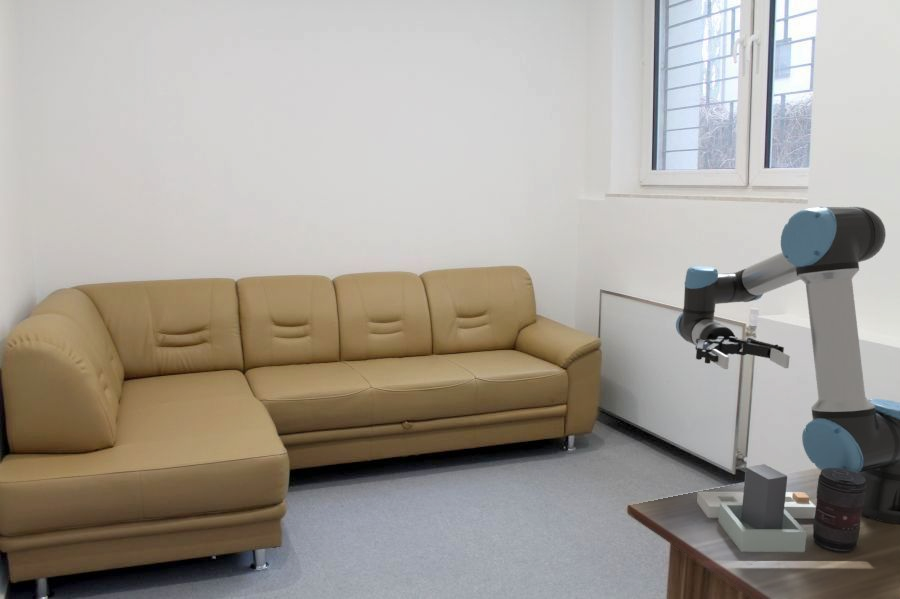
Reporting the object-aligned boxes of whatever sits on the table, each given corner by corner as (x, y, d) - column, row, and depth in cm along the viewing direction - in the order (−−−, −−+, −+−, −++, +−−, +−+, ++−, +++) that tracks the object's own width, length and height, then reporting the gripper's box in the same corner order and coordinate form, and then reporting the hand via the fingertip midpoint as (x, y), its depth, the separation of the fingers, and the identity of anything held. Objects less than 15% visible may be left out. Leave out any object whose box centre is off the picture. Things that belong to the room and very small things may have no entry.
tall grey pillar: (758, 527, 157) (764, 464, 154) (780, 541, 151) (787, 476, 149) (740, 530, 155) (746, 467, 153) (762, 545, 150) (768, 479, 147)
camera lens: (863, 561, 146) (873, 486, 143) (816, 556, 148) (825, 481, 145) (850, 540, 154) (859, 468, 151) (806, 536, 155) (814, 464, 153)
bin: (776, 526, 159) (779, 503, 158) (804, 556, 148) (806, 532, 147) (717, 526, 159) (719, 502, 158) (740, 556, 147) (743, 531, 146)
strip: (799, 507, 168) (801, 487, 167) (814, 522, 161) (817, 502, 160) (696, 506, 167) (698, 487, 166) (707, 522, 160) (709, 501, 160)
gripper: (761, 352, 191) (810, 378, 170) (662, 354, 188) (699, 380, 168) (764, 322, 190) (814, 344, 169) (664, 323, 187) (702, 346, 166)
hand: (757, 362), depth 168 cm, fingers open, 13 cm apart
